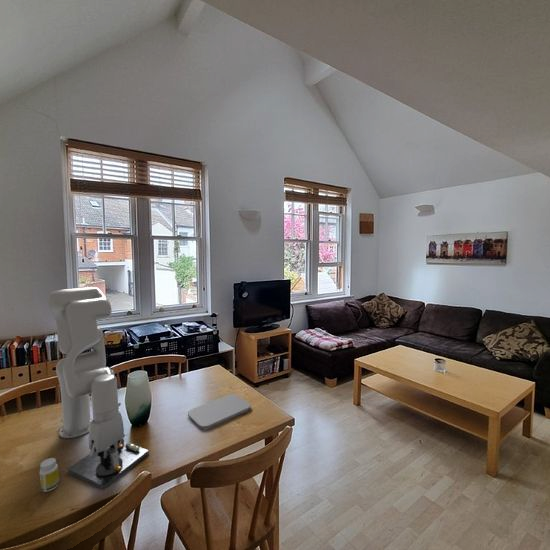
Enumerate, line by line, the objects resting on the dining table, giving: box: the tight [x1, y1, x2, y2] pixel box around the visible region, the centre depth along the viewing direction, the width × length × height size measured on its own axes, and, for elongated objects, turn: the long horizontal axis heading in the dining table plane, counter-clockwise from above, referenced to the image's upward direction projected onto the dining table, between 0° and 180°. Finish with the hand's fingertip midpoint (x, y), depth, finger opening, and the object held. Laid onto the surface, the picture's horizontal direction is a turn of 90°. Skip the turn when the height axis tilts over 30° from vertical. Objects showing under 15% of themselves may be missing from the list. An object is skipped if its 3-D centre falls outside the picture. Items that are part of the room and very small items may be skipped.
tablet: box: [187, 393, 251, 430], centre depth 140 cm, size 16×26×2 cm, turn 131°
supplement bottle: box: [38, 457, 60, 493], centre depth 97 cm, size 5×5×8 cm
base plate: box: [67, 440, 149, 491], centre depth 107 cm, size 18×18×3 cm
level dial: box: [96, 447, 123, 477], centre depth 103 cm, size 9×8×7 cm
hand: (109, 463), depth 103 cm, fingers closed on level dial, 2 cm apart
